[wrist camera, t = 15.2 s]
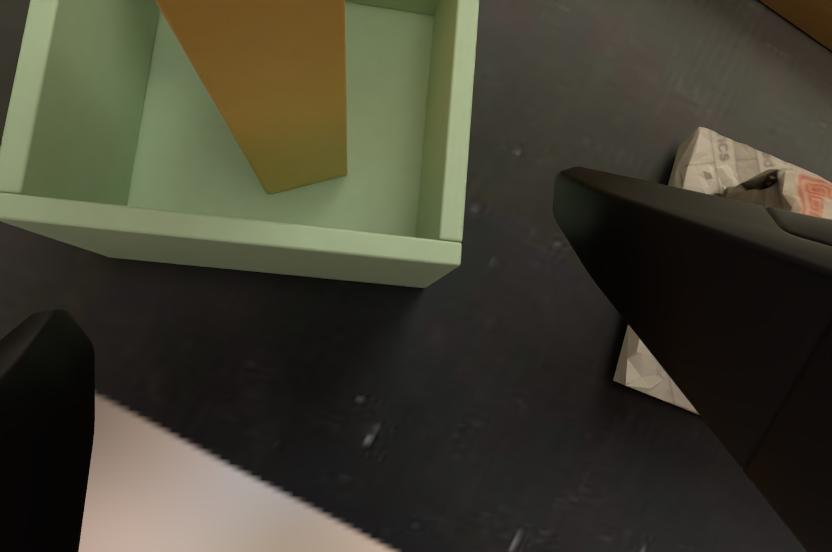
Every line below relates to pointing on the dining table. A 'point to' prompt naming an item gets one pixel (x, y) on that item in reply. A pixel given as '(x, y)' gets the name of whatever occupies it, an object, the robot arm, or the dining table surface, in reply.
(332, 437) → the dining table surface
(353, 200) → the open storage bin
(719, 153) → the packaged product
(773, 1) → the picture frame
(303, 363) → the dining table surface
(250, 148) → the mustard yellow box
